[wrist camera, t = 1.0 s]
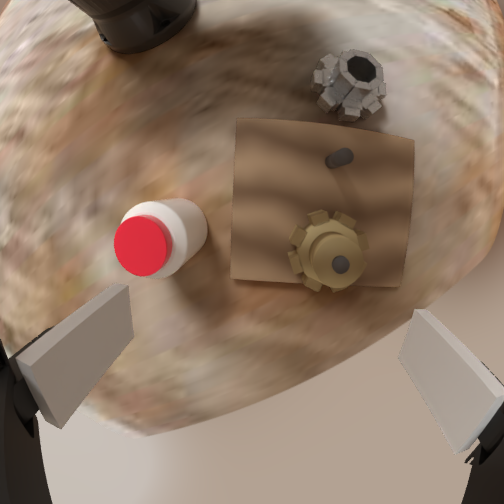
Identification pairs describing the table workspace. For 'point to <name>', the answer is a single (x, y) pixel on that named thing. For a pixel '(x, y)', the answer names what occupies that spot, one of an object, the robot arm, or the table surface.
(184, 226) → the pill bottle
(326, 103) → the steel gear
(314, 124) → the gear board
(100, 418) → the table surface
